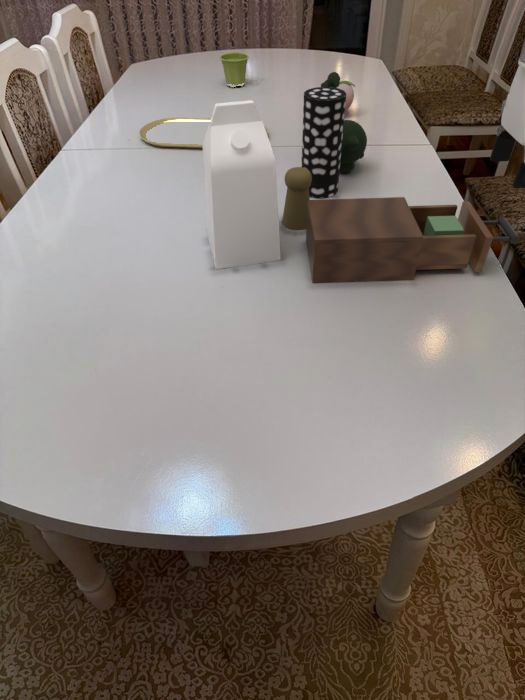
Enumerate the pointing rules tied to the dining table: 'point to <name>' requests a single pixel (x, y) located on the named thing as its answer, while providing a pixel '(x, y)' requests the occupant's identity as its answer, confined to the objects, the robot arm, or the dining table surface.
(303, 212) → the olive pawn
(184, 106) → the dining table surface
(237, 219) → the milk
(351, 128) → the toy figurine
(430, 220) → the block
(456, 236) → the drawer
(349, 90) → the decorative fruit
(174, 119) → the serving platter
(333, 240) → the cabinet
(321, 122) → the spotted tube
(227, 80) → the plant pot
